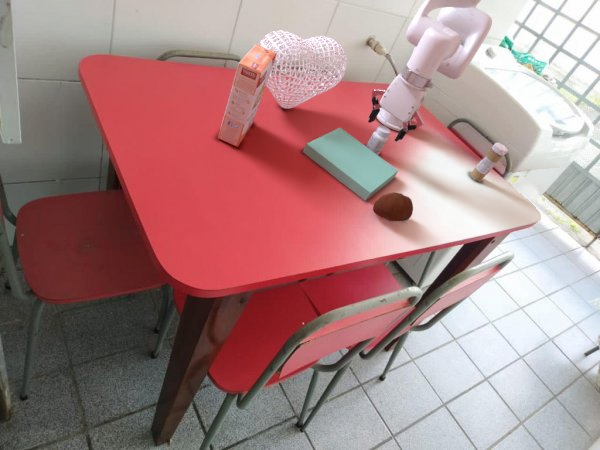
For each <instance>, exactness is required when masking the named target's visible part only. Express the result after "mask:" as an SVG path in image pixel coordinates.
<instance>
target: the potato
mask: <svg viewBox="0 0 600 450" xmlns="http://www.w3.org/2000/svg"><path fill="white" fill-rule="evenodd" d="M372 211H373V213H374V214H375V215H376V216H377V217H379V218H381V219H383V220H387V221H390V222H406V221H409V219H411V217H412V215H413V211H414V205H413V201H412V199H411V198H410V197H409V196H407V195H404V194H403V193H401V192H395V191H394V192H389V193H386V194H383V195H381V196H379V197H378V198H377V199H376V200H375V201H374V203H373V206H372Z"/></svg>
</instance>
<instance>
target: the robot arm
mask: <svg viewBox="0 0 600 450" xmlns="http://www.w3.org/2000/svg"><path fill="white" fill-rule="evenodd" d="M481 1H482V0H424V1H423V2H422V4H421V5H420V7H419V8H418V10H417V12H416V14H415V15H414V17H413V18H412V20H411V22H409V25H408V28H407V30H406V32H405V37H406V40H407V41H408V43H409V44H411V45H413V46H414V48H413V51H412V53H411V56H410V58H409V59H408V61H407V63H406V65H405V66H404V68H403V70H402V72H400V73H398V74H397V75H396V77H394V79H393V80H392V82H391V83H390V84H389V86H388V87H387V88H386V89H377V88H374V89H372V94H371V103H372V111H370V114H369V115H368V121H367V123H369V124H370V123H373V122H374V121H376V119H377V120H378V122H380V123H381V125H383V126H386V127H387V128H389V130H393V131H396V132H398V134H397V135H396V136H395V138H394V142H399V141H402V140H403V139H404V138H405V136H406V134H407V133H408V131H414V130H417V129H418V128H420V127H421V126H423V125H424V124H425V121H424V120H423V118H422V116H421V114H420V112H419V110H420V108H421V106H422V104H423V102H424V100H425V98H426V96H427V93H428V88H429V89H432V88H433V87H434V85H435V84H434V83H433V82H432V80H433V77H434V75H435V74H436V72H438V73H439V74H441V75H444V76H446V77H447V78H449V79H452V80H457V79H459V78H460V77H461V76H463V74H464V73H465V72H466V70H467V68H469V66H470V64H471V63H472V61H473V59H474V58H475V56H476V54H477V52H478V51H479V49H480V48H481V46H482V44H483V43H484V41H485V40H486V38H487V36H488V35H489V32H490V30H491V28H492V25H493V19H492V17H491V16H490V15H489V14H488V13H486V12H485V11H484V10H482V9H480V8H478V7H477V5H479V4H480V2H481ZM437 9H441V10H440V11H439V13H438V15H437V17H436V19H434V18H432V17H430V16H428V15H429V14H430V13H431V12H432V11H434V10H437ZM461 42H462V44H461ZM378 96H382V97H381V98H380V99H379V98H378ZM414 119H415V121H416V123H415V124H414V123H413V124H412V122H411V121H412V120H414Z"/></svg>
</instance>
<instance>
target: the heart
mask: <svg viewBox="0 0 600 450" xmlns="http://www.w3.org/2000/svg"><path fill="white" fill-rule="evenodd" d="M285 40H286V41H285ZM258 45H260V46H262V47H264V48H267V49H269V50H271V51H273V52H275V53H276V54H277V55H276V58H275V61H276V62H274V64H273V67H272V69H271V72H270V75H269V78H268V81H267V84H266V87H265V88H267V89H268V91H269V92H270V94H271V95H272V96H273V98H274V100H275V101H276V103H277V104H278V106H280V107H281V108H283V109H286V110H287V109H288V110H290V109H293V108H295V107H298V106H300V105H301V104H303V103H305V102H307V101H309V100H311V99H313V98H315V97H316V96H319V95H321V94H323V93H325V92H327V91H329V90H331V89H333V88H334V87H336V86H337V85H338V84H339V83H340V82H341V81H342V79H343V78H344V76H345V73H346V71H347V68H348V67H347V65H348V63H347V62H348V61H347V60H348V59H347V55H346V52H345V50H344V49H343V47H342V45H341V44H340V43H339V42H338V41H336V40H335V39H333V38H331V37H329V36H325V35H318V36H312V37H309V38H305V39H303V38H302V37H300V36H298V35H296V34H294V33H292V32H290V31H287V30H282V29H281V30H280V29H279V30H273V31H270V32H268V33H267V34H266V35H264V37H262V39H261V40H260V42H259V43H258ZM324 45H325V46H324ZM280 48H281V49H280ZM320 50H321V51H320ZM284 51H285V52H284ZM287 52H288V53H287ZM313 54H314V55H313ZM281 55H282V56H281ZM317 55H318V56H317ZM322 55H323V56H322ZM301 56H302V57H301ZM290 57H291V58H290ZM327 58H328V61H326V59H327ZM331 59H332V61H331ZM285 61H286V62H285ZM301 61H302V63H301ZM284 62H285V63H284ZM297 62H298V64H297ZM305 62H306V63H305ZM278 66H280V67H279V68H278ZM317 66H318V67H317ZM297 67H298V68H297ZM292 68H293V69H292ZM301 68H302V69H301ZM277 72H278V75H277ZM288 73H289V74H288ZM287 78H288V79H287ZM292 79H293V80H292Z"/></svg>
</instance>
